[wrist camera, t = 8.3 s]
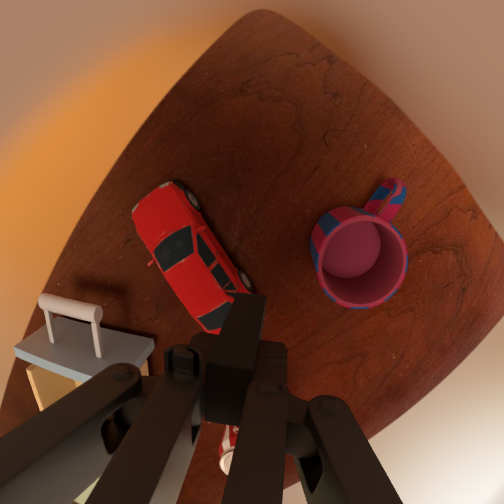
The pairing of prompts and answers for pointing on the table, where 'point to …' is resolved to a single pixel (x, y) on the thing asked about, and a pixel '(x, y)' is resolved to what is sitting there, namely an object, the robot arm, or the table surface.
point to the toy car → (189, 254)
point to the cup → (361, 250)
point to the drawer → (75, 349)
